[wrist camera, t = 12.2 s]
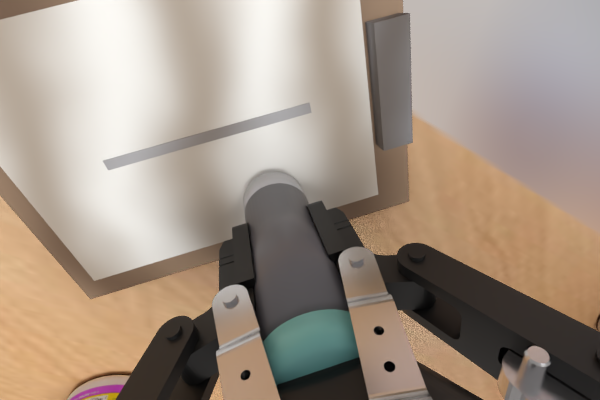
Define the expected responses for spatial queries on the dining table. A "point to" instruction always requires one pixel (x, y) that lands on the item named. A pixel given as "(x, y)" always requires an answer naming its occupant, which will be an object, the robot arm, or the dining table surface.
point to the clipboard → (193, 121)
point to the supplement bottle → (100, 388)
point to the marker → (295, 282)
